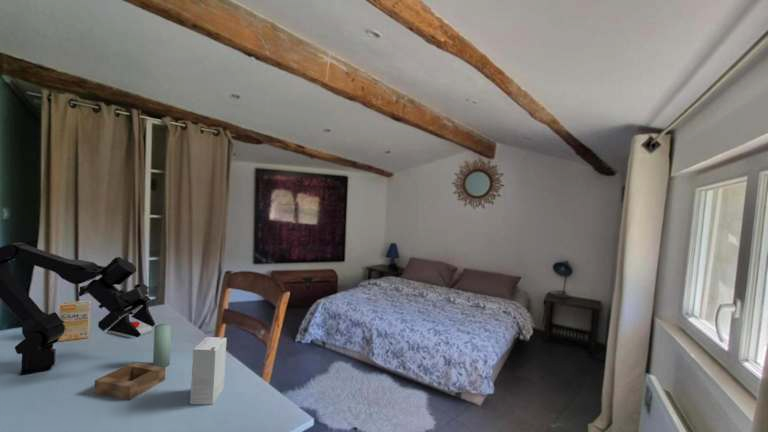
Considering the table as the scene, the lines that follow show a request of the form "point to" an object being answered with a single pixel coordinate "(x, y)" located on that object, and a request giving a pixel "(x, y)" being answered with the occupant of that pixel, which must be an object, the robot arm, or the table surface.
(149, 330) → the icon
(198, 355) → the skincare box
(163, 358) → the sage peg
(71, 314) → the supplement box
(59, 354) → the table surface
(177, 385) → the table surface
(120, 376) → the square wooden frame
